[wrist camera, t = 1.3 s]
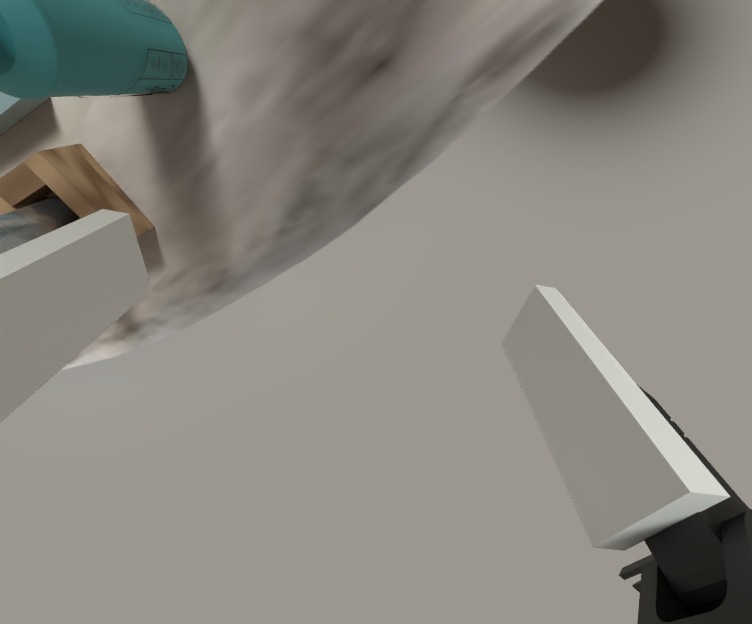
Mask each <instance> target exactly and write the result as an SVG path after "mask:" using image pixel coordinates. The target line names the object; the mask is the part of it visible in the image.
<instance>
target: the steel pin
mask: <svg viewBox="0 0 752 624" xmlns="http://www.w3.org/2000/svg"><path fill="white" fill-rule="evenodd" d="M79 219H81V218H80V217H79V216H78V215H77V214H76V213H75V212H74V211H73V210H72V209H71V208H70V207H69V206H68V205H67V204H66V203H65V202H64V201H63V200H62V199H61V198H60V197H58V196H55V197H52V198H49V199H46V200H43V201H40V202H37V203H34V204H31V205H28V206H25V207H22V208H19V209H16V210H13V211H10V212H7V213H4V214H1V215H0V254H2V253H4V252H6V251H8V250H11V249H13V248H15V247H18V246H20V245H22V244H24V243H27V242H29V241H31V240H33V239H36V238H38V237H40V236H42V235H45V234H47V233H49V232H52V231H54V230H56V229H58V228H61V227H63V226H65V225H67V224H70V223H72V222H74V221H77V220H79Z"/></svg>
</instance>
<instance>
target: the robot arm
mask: <svg viewBox="0 0 752 624" xmlns="http://www.w3.org/2000/svg"><path fill="white" fill-rule="evenodd" d="M151 290H152V287H151V283H150V280H149V277H148V273H147V270H146V267H145V263H144V260H143V257H142V254H141V250H140V247H139V244H138V240H137V237H136V234H135V230H134V227H133V224H132V220H131V217H130V214H129V213H123V212H117V211H112V210H106V209H101V210H99V211H97V212H95V213H92V214H90V215H88V216H86V217H83V218H81V219H79V220H77V221H74V222H72V223H70V224H67V225H65V226H63V227H61V228H58V229H56V230H54V231H52V232H49V233H47V234H45V235H42V236H40V237H38V238H36V239H33V240H31V241H29V242H27V243H24V244H22V245H20V246H18V247H15V248H13V249H11V250H8V251H6V252H4V253H2V254H0V423H1V422H2V421H3V420H4V419H5V418H6V417H7V416H8V415H10V414H11V413H12V412H13V411H14V410H15V409H16V408H18V407H19V406H20V405H21V404H22V403H23V402H24V401H26V400H27V399H28V398H29V397H30V396H31V395H32V394H34V393H35V391H37V390H38V389H39V388H40V387H42V386H43V385H44V384H45V383H46V382H47V381H48V380H49V379H51V378H52V377H53V376H54V375H55V374H56V373H57V372H59V371H60V370H61V369H62V368H63V367H64V366H65V365H67V364H68V363H69V362H70V361H71V360H72V359H73V358H75V357H76V356H77V355H78V354H79V353H80V352H81V351H82V350H84V349H85V348H86V347H87V346H88V345H89V344H90V343H92V342H93V341H94V340H95V339H96V338H97V337H98V336H100V335H101V334H102V333H103V332H104V331H105V330H106V329H107V328H109V327H110V326H111V325H112V324H113V323H114V322H115V321H117V320H118V319H119V318H120V317H121V316H122V315H123V314H125V313H126V312H127V311H128V310H129V309H130V308H131V307H133V306H134V305H135V304H136V303H137V302H138V301H139V300H140V299H142V298H143V297H144V296H145V295H146V294H147V293H148V292H150V291H151ZM501 344H502V346H503V349H504V351H505V353H506V355H507V358H508V360H509V362H510V364H511V367H512V369H513V371H514V373H515V375H516V378H517V380H518V382H519V384H520V387H521V389H522V391H523V393H524V395H525V398H526V400H527V402H528V404H529V407H530V409H531V411H532V413H533V416H534V418H535V420H536V422H537V424H538V427H539V429H540V431H541V433H542V435H543V438H544V440H545V442H546V445H547V447H548V449H549V451H550V453H551V456H552V458H553V460H554V462H555V465H556V467H557V469H558V471H559V473H560V476H561V478H562V480H563V482H564V485H565V487H566V489H567V491H568V494H569V496H570V498H571V500H572V502H573V505H574V507H575V509H576V511H577V514H578V516H579V518H580V520H581V523H582V525H583V527H584V529H585V531H586V534H587V536H588V538H589V540H590V543H591V544H592V547H594V548H604V549H614V550H626V549H628V548H630V547H632V546H634V545H636V544H638V543H640V542H642V541H645V542H646V544H647V546H648V548H649V549H650V551H651V553H652V555H650V556H647V557H645V558H643V559H641V560H639V561H636V562H634V563H632V564H630V565H628V566H626V567H624V568H622V570H621V572H620V575H619V576H620V577H622V578H623V579H624V580H626V579H628V578H630V577H633V576H635V575H637V574H640V573H641V574H642V575H641V581H638V582H637V583H635V584H633V587H634V588H635V589H636V590H637V591H639V592H640V599H639V612H638V624H752V509H751V510H750V509H749V508H748V507H747V506H746V504H745V503H744V502H743V501H742V500H741V499H740V498H739V497H738V496H737V494H736V493H735V492H734V491H733V490H732V489H731V487H730V486H729V485H728V484H727V483H726V482H725V480H724V479H723V478H722V477H721V476H720V475H719V473H718V472H717V471H716V470H715V469H714V468H713V466H712V465H711V464H710V463H709V462H708V461H707V459H706V458H705V457H704V456H703V455H702V454H701V452H700V451H699V450H698V449H697V448H696V447H695V445H694V444H693V443H692V442H691V441H690V440H689V439H688V438H686V437H684V433H683V431H682V430H681V429H680V428H679V427H678V426H677V424H676V423H675V422H673V421H671V420H670V418H671V417H670V416H669V415H668V414H667V413H666V412H665V410H663V408H662V407H661V406H660V405H659V403H658V402H657V401H656V400H655V399H654V398H653V397H652V396H650V395H649V394H648V393H647V392H645V391H644V390H643V389H642V388H641V387H639V386H638V385H637V384H636V383H635V382H634V381H633V380H632V379H631V377H630V376H629V375H628V374H627V373H626V371H625V370H624V369H623V368H622V367H621V365H620V364H619V363H618V362H617V361H616V360H615V358H614V357H613V356H612V355H611V354H610V352H609V351H608V350H607V349H606V348H605V346H604V345H603V344H602V343H601V342H600V341H599V339H598V338H597V337H596V336H595V334H594V333H593V332H592V331H591V330H590V328H589V327H588V326H587V325H586V324H585V323H584V321H583V320H582V319H581V318H580V317H579V316H578V314H577V313H576V312H575V311H574V309H573V308H572V307H571V306H570V305H569V304H568V302H567V301H566V300H565V299H564V297H563V296H562V295H561V294H560V293H559V291H558V290H557V289H556V288H551V287H545V286H540V285H534V287H533V289H532V291H531V293H530V294H529V296H528V298H527V299H526V301H525V303H524V305H523V306H522V308H521V310H520V312H519V314H518V315H517V317H516V319H515V321H514V322H513V324H512V326H511V327H510V329H509V331H508V332H507V334H506V336H505V338H504V340H503V341H502V343H501Z"/></svg>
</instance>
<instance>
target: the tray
mask: <svg viewBox="0 0 752 624" xmlns="http://www.w3.org/2000/svg"><path fill="white" fill-rule="evenodd" d="M48 98H50V97H45V98H42V99H21V98H16V97H13V96H10V95H7V94H5V93H2V92H0V135H2V134H3V133H4V132H5V131H7V130H8V129H9V128H11V127H12V126H13V125H15V124H16V123H17V122H18V121H20V120H21V119H22V118H24V117H25V116H26V115H28V114H29V113H30V112H31V111H33V110H34V109H35V108H37V107H38V106H39V105H41V104H42V103H43V102H44V101H46V100H47V99H48Z"/></svg>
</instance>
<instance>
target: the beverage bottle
mask: <svg viewBox="0 0 752 624" xmlns="http://www.w3.org/2000/svg"><path fill="white" fill-rule="evenodd" d="M148 1H149V0H148ZM150 2H151V1H150ZM150 2H147V1H145V0H0V92H2V93H5V94H7V95H10V96H13V97H16V98H21V99H42V98H45V97H62V96H76V97H77V96H79V97H80V96H87V95H89V96H102V95H106V96H107V95H116V96H117V95H120V94H136V95H130V96H141V95H140V94H139V95H137V94H138V93H141V94H142V93H147V94H144V95H153V94H152V93H155V94H156V93H166V94H167V92H169V91H171V93H172V90H175V89H176V88H177V87H180V86H181V85H180V84H181V83H183V81H184V78H185V76H186V72H187V54H186V50H185V46H184V43H183V41H182V38H181V36H180V34H179V33H178V31H177V29H176V28H175V26H174V25H173V24H172V22H171V21H170V19H169V18H167V17H166V16H165V15H166V14H165V13H164V12H163V11H162V10H161V9H160V8H159V9H160V10H161V11H162V12H163V13H164V14H165V15H164V14H163V13H162V12H161V11H160V10H159V9H158V8H157V7H156V6H154V5H152V4H151V3H150ZM179 85H180V86H179ZM176 90H177V89H176ZM176 90H175V91H176ZM173 92H174V91H173ZM169 93H170V92H169ZM169 93H168V94H169ZM125 96H126V95H125ZM113 97H114V96H113ZM122 97H123V96H122ZM128 97H129V95H128ZM82 98H83V97H82ZM85 98H86V97H85Z"/></svg>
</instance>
